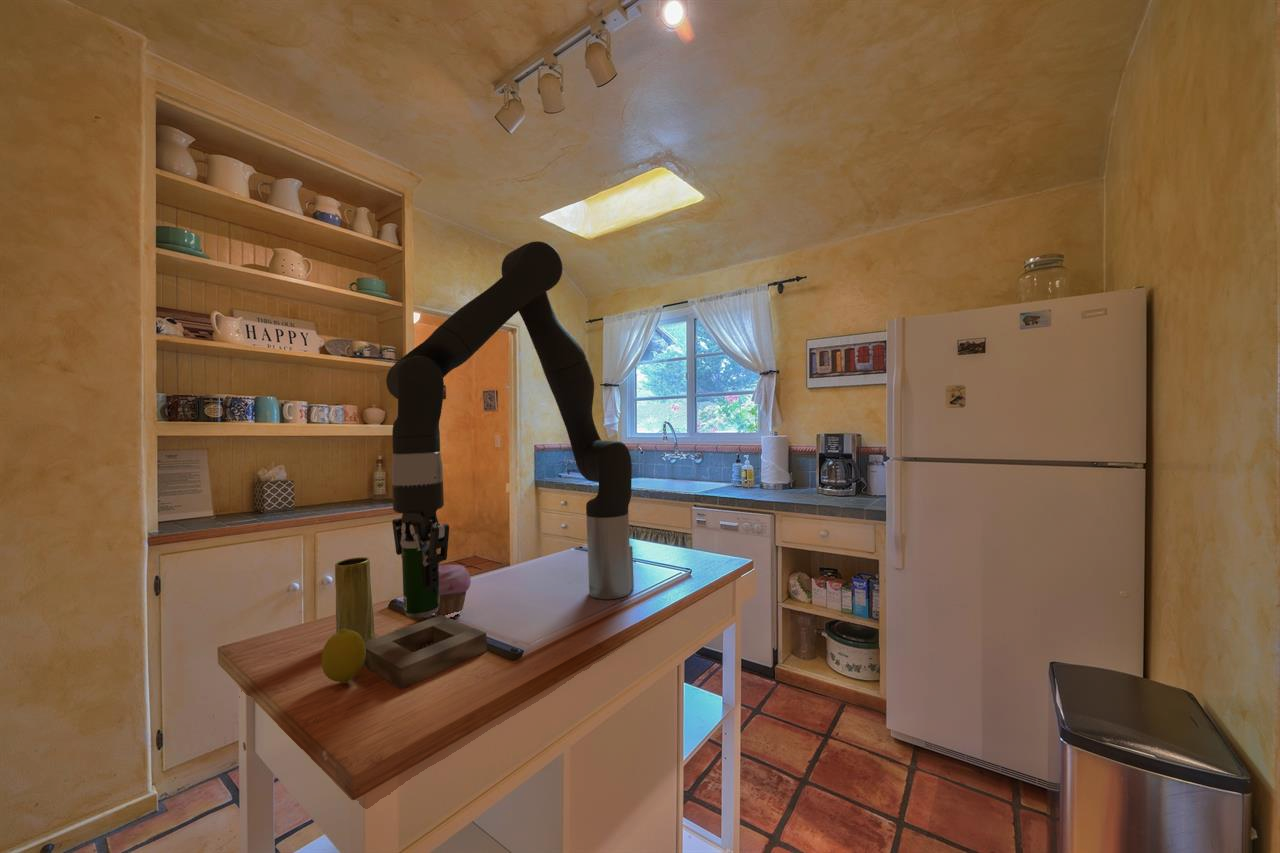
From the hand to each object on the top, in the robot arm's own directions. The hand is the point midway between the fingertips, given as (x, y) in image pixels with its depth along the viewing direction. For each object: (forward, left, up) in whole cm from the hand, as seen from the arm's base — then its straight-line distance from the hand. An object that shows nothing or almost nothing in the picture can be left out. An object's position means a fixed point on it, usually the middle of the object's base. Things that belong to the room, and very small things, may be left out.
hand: (421, 584), depth 78 cm
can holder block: (0, 0, -12) cm, 12 cm away
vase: (+4, -16, -12) cm, 20 cm away
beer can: (0, 0, -5) cm, 5 cm away
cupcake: (-12, -13, -12) cm, 21 cm away
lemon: (+11, -2, -12) cm, 16 cm away
